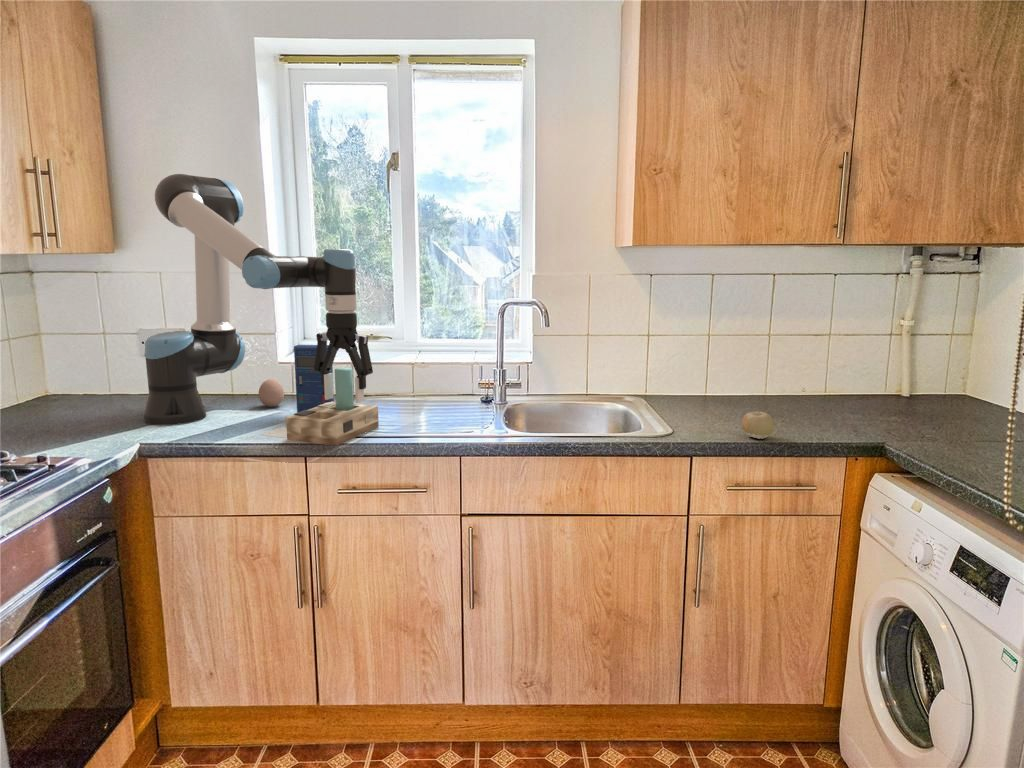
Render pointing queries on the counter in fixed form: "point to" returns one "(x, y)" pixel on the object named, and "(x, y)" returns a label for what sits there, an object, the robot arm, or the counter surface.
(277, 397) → the egg
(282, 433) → the mat
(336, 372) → the pale green cylinder
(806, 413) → the counter surface
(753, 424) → the fruit
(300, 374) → the electronic device
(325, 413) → the socket block
